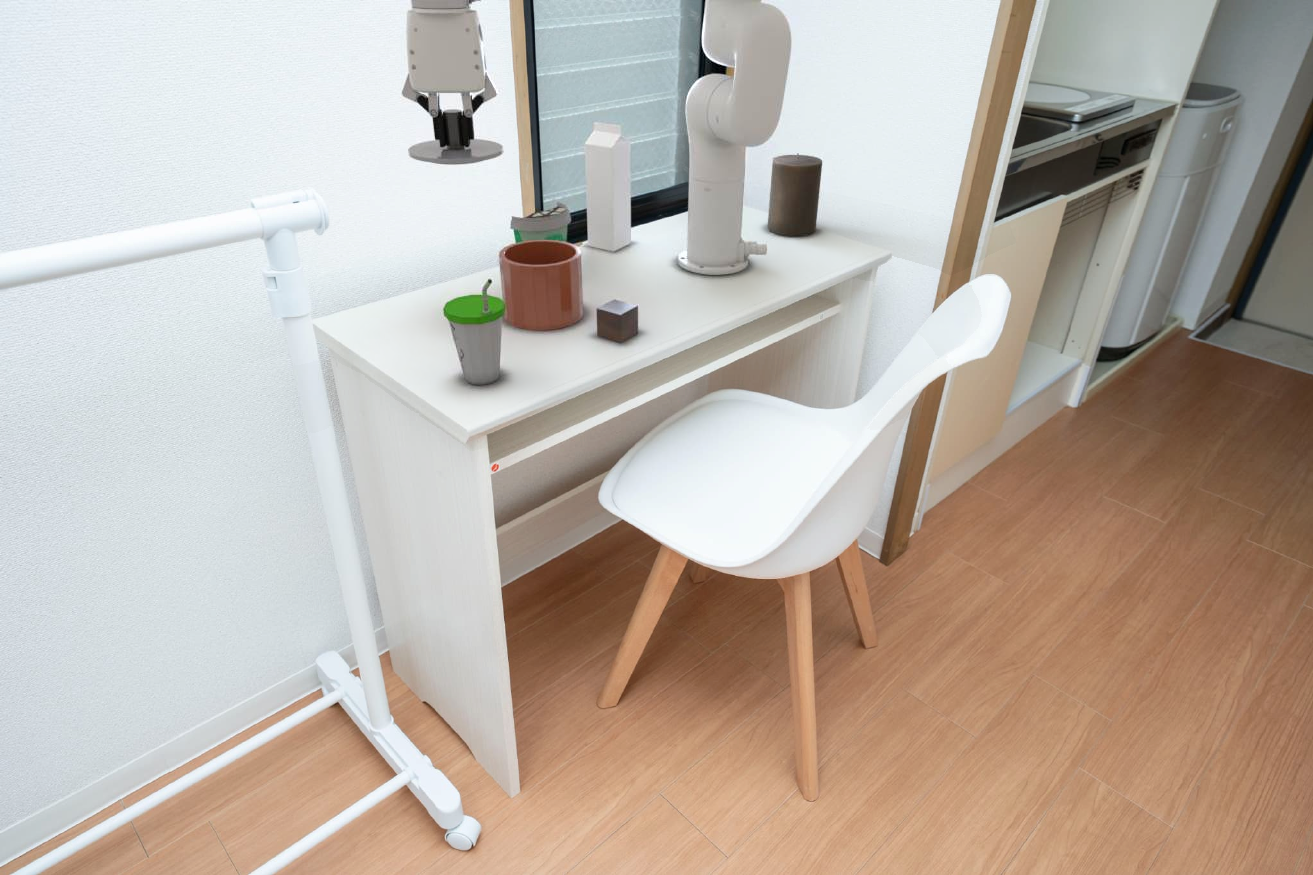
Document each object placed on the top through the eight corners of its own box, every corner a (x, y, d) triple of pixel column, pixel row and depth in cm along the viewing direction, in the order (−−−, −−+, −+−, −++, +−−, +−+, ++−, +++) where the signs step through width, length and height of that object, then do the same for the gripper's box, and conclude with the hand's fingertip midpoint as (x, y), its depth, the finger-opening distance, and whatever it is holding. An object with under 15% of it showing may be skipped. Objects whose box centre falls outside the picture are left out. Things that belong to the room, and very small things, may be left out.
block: (614, 326, 129) (614, 299, 126) (638, 333, 126) (638, 305, 124) (597, 336, 125) (596, 308, 123) (620, 343, 123) (620, 315, 121)
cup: (451, 367, 116) (438, 262, 108) (509, 362, 118) (499, 258, 110) (453, 393, 110) (438, 284, 102) (514, 387, 111) (504, 279, 103)
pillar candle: (813, 238, 166) (822, 160, 158) (763, 234, 168) (769, 156, 160) (817, 224, 174) (825, 148, 166) (769, 220, 176) (775, 145, 168)
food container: (539, 281, 144) (535, 223, 139) (513, 273, 148) (509, 216, 142) (587, 262, 153) (585, 207, 148) (562, 255, 156) (559, 201, 151)
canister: (582, 298, 138) (579, 238, 133) (584, 329, 128) (581, 265, 122) (506, 300, 137) (501, 240, 132) (502, 331, 126) (496, 267, 121)
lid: (505, 146, 127) (502, 102, 124) (501, 167, 116) (498, 120, 112) (415, 147, 126) (410, 102, 122) (402, 168, 114) (396, 120, 111)
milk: (613, 252, 158) (611, 129, 146) (587, 246, 161) (583, 124, 149) (631, 243, 162) (630, 123, 151) (605, 237, 165) (603, 119, 153)
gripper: (504, -2, 114) (514, 139, 124) (381, -4, 113) (400, 140, 122) (502, 2, 108) (512, 150, 117) (371, 0, 106) (392, 151, 116)
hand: (455, 144), depth 120 cm, fingers closed on lid, 2 cm apart
